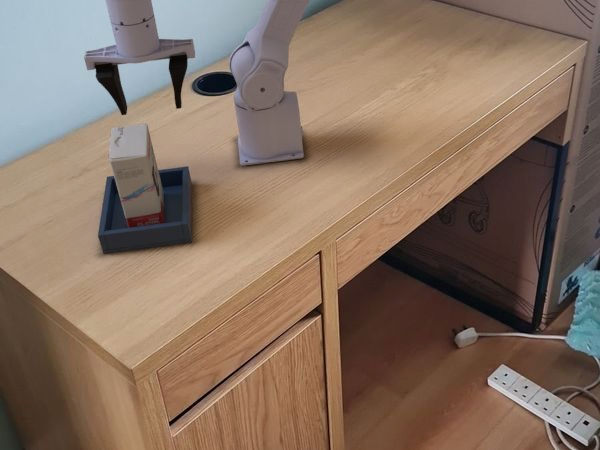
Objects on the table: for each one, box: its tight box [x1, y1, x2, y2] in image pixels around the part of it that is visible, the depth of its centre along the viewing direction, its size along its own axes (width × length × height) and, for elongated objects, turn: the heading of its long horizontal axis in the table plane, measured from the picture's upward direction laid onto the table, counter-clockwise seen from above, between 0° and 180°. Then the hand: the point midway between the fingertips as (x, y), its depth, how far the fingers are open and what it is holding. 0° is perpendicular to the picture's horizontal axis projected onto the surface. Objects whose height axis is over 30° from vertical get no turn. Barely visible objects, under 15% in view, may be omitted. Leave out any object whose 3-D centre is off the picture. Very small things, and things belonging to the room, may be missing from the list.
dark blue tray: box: [97, 166, 193, 255], centre depth 107 cm, size 12×14×3 cm
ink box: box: [108, 123, 165, 228], centre depth 104 cm, size 9×5×12 cm, turn 8°
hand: (151, 108), depth 111 cm, fingers open, 7 cm apart
